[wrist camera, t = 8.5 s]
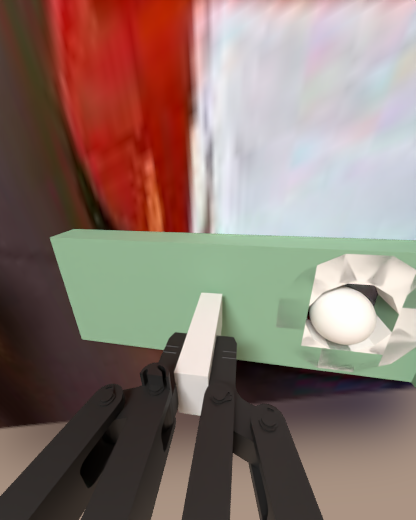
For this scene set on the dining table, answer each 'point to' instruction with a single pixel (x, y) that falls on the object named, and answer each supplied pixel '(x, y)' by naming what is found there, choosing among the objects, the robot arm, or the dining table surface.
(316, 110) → the dining table surface
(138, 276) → the green flat block
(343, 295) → the ball
